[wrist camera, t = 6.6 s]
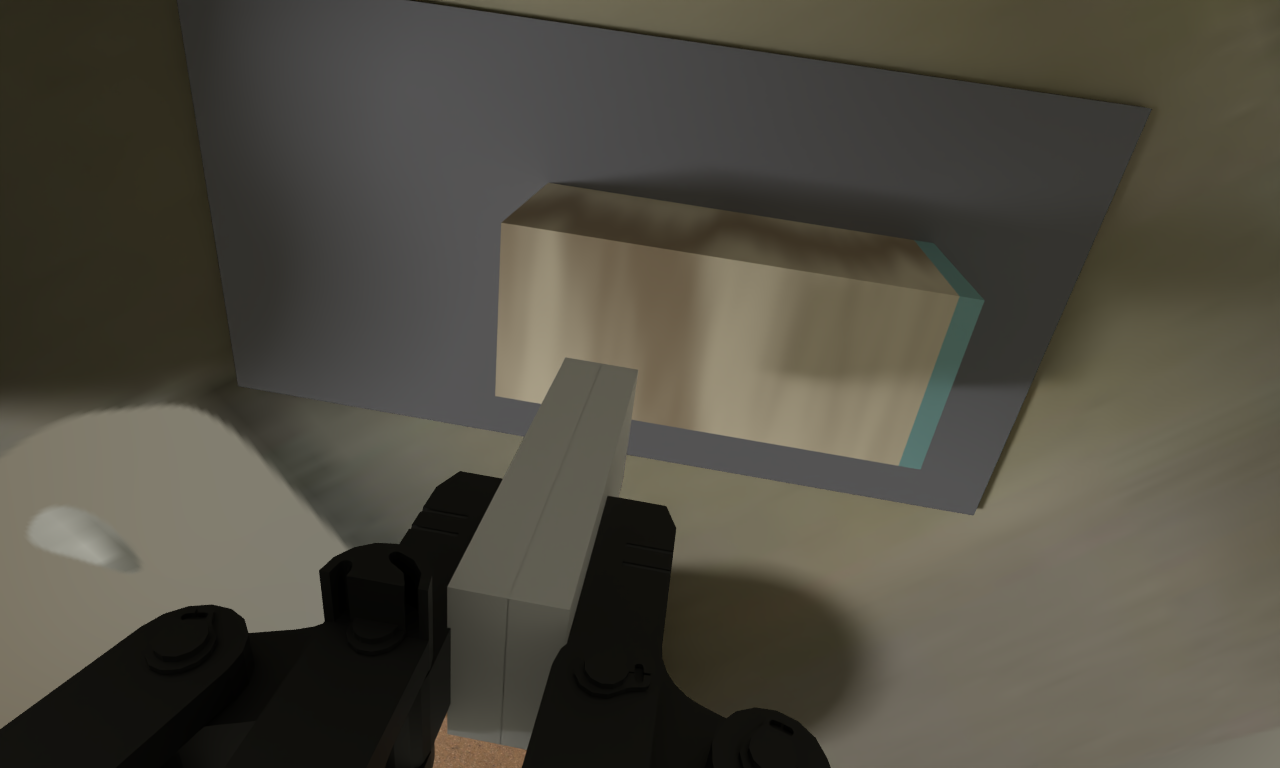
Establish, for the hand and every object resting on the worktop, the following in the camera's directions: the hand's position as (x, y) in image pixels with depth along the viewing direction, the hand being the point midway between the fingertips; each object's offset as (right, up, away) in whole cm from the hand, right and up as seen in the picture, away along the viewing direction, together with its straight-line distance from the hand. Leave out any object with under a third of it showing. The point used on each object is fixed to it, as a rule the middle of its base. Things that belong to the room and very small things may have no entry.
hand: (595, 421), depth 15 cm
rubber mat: (0, +5, +9) cm, 10 cm away
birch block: (-3, +4, +6) cm, 8 cm away
